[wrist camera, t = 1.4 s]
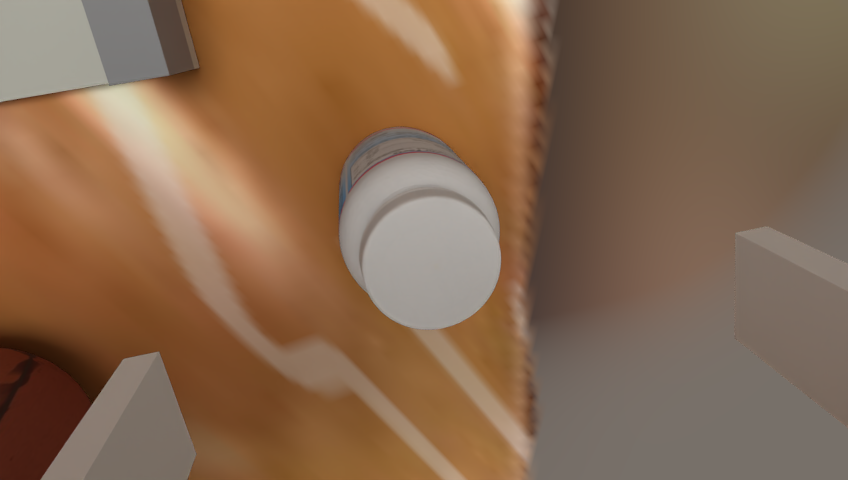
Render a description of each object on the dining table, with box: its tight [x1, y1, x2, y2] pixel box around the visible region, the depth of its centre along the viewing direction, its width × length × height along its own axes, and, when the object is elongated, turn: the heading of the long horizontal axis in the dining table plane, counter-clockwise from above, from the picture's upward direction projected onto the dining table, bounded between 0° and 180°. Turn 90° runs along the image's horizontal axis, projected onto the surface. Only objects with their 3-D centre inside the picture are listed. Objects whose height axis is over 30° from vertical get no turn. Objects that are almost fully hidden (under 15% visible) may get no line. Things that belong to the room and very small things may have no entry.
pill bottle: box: [339, 127, 501, 330], centre depth 25 cm, size 6×6×11 cm
